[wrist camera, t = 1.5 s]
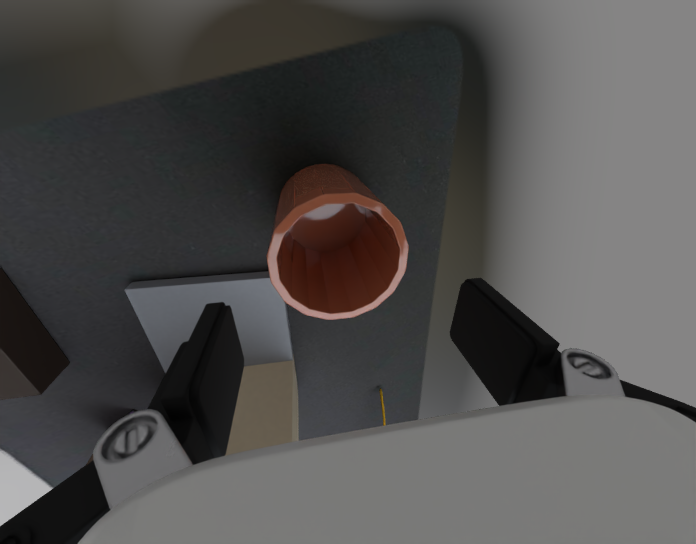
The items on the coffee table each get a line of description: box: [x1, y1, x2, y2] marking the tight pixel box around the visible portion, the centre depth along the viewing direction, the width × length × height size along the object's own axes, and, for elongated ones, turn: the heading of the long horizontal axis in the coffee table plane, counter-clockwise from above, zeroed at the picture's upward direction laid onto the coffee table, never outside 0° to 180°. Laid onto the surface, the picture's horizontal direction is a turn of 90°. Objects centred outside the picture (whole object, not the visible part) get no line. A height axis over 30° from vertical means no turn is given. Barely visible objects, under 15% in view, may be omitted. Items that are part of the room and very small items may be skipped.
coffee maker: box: [125, 271, 299, 456], centre depth 18 cm, size 16×12×21 cm
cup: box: [267, 164, 409, 320], centre depth 18 cm, size 7×7×9 cm
